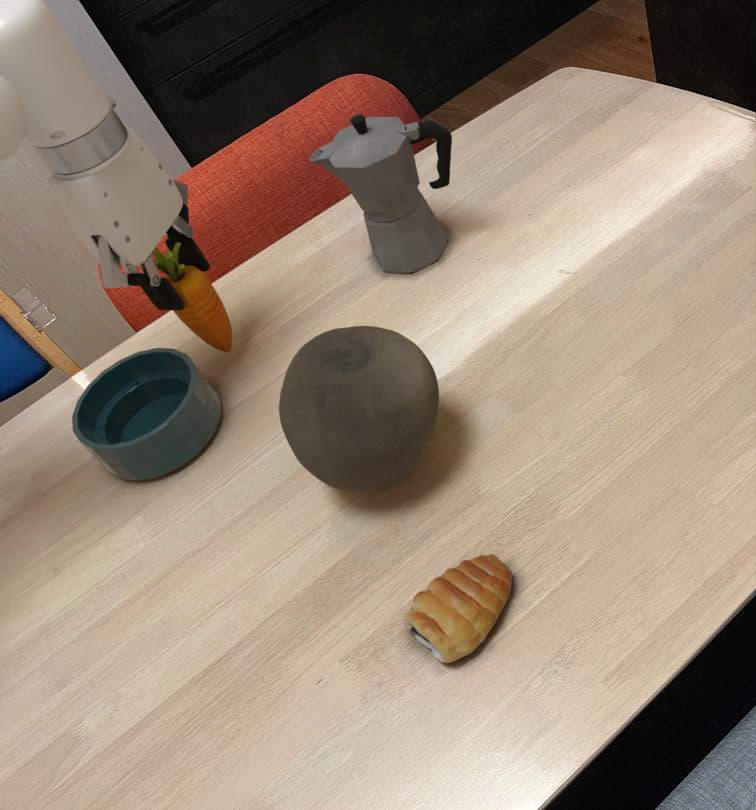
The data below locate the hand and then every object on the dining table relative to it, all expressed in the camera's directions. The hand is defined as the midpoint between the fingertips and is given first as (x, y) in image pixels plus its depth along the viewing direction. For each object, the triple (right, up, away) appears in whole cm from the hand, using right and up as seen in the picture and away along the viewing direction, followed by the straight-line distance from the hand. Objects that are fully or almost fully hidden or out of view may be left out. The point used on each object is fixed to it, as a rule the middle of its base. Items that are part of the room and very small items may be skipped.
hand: (184, 287), depth 94 cm
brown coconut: (+22, -17, -6) cm, 29 cm away
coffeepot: (+23, +6, +13) cm, 27 cm away
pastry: (+30, -30, -19) cm, 46 cm away
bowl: (-3, -15, +3) cm, 16 cm away
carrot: (+2, -6, +7) cm, 10 cm away
